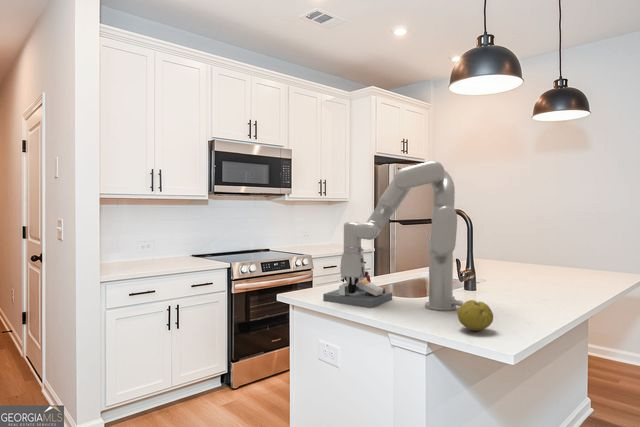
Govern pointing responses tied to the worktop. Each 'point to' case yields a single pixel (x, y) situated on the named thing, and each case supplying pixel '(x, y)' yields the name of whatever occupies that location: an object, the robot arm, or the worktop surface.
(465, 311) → the fruit
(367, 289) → the rocker
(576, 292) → the worktop surface
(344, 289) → the slider
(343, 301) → the panel
